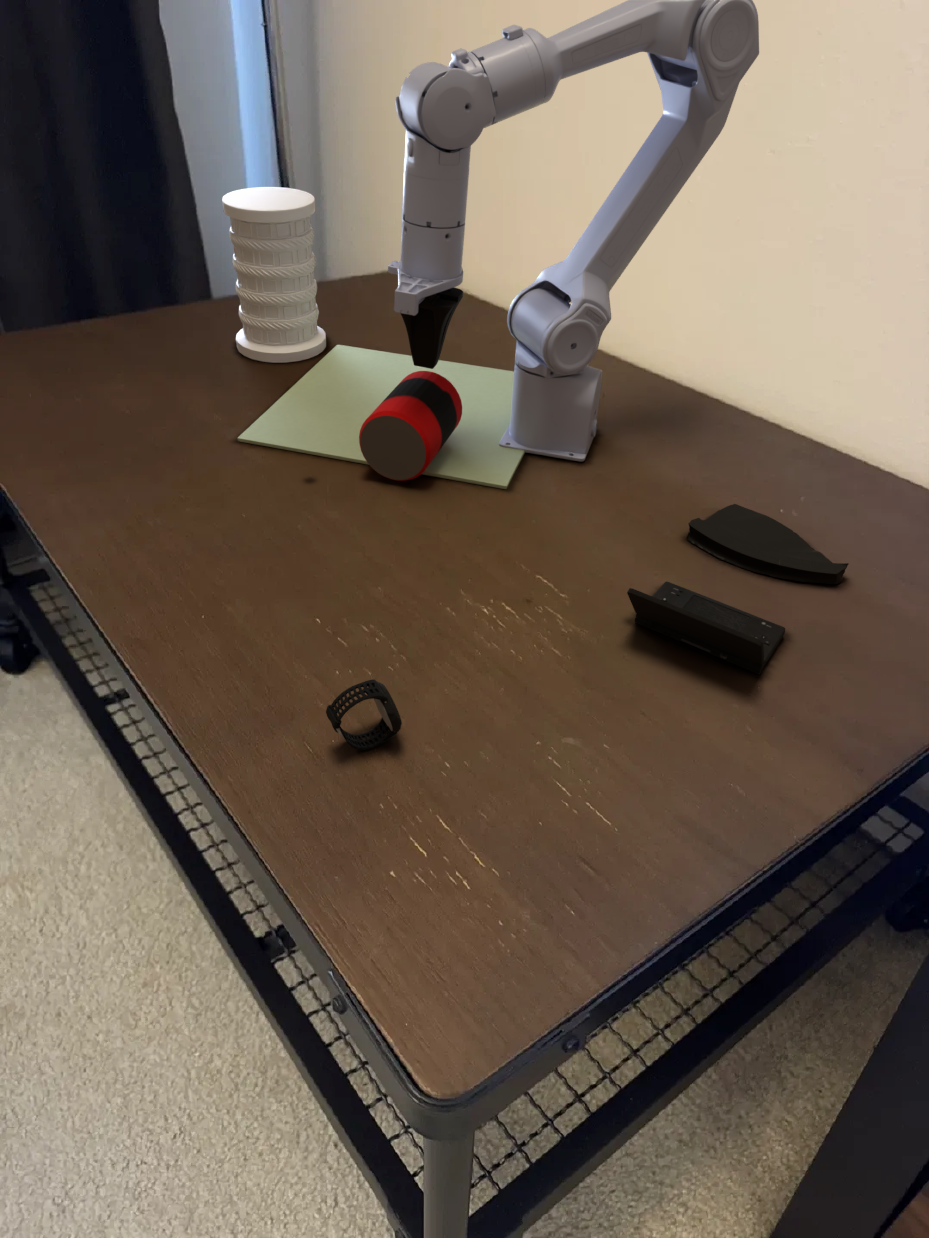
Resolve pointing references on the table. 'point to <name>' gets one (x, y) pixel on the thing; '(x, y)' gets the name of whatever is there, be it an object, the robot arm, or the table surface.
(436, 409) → the soda can
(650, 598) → the handheld gaming console
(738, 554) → the curved wedge
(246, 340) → the decorative container
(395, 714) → the smartwatch
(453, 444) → the mat
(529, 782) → the table surface
